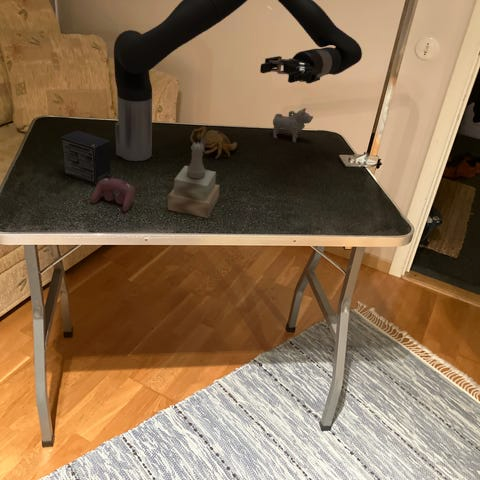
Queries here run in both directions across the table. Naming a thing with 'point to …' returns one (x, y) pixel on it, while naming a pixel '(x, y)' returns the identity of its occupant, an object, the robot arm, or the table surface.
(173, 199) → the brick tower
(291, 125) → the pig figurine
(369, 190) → the table surface
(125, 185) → the video game controller
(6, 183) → the table surface
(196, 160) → the rook chess piece
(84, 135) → the small box
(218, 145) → the crab model
